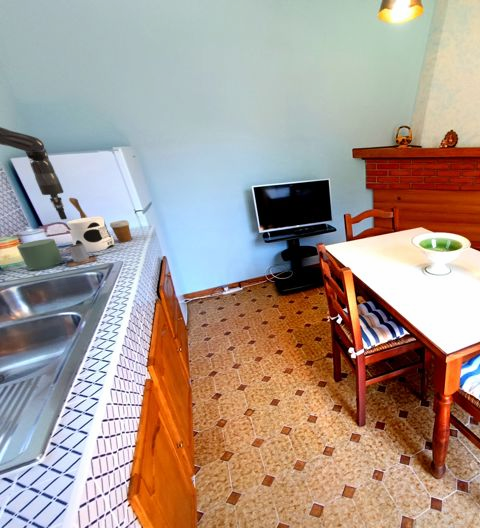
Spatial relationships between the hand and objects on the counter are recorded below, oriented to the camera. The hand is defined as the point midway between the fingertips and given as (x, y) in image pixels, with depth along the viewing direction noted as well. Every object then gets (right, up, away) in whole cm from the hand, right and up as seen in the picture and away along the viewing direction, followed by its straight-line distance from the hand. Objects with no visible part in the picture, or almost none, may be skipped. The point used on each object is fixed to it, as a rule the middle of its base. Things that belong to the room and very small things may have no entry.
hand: (63, 218), depth 143 cm
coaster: (+1, -21, +8) cm, 23 cm away
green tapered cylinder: (-13, -23, +5) cm, 27 cm away
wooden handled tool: (-20, -9, +41) cm, 47 cm away
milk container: (-4, -15, +24) cm, 29 cm away
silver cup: (+1, -20, +8) cm, 22 cm away
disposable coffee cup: (-1, -8, +41) cm, 42 cm away
